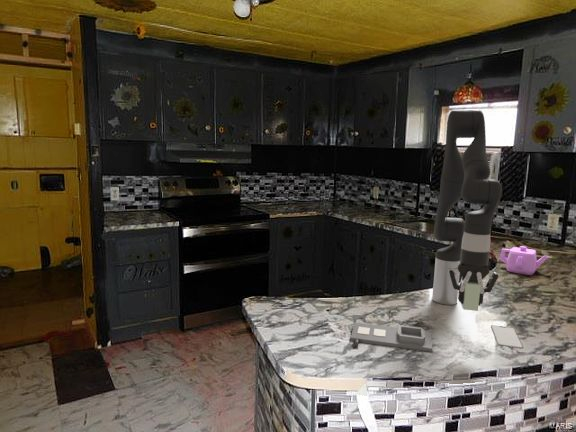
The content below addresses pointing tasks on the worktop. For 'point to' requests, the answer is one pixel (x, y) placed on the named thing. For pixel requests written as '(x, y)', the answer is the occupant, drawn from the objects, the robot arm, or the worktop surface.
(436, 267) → the robot arm
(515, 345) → the smartphone
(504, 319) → the worktop surface
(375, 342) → the power strip
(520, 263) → the teakettle
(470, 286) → the block
